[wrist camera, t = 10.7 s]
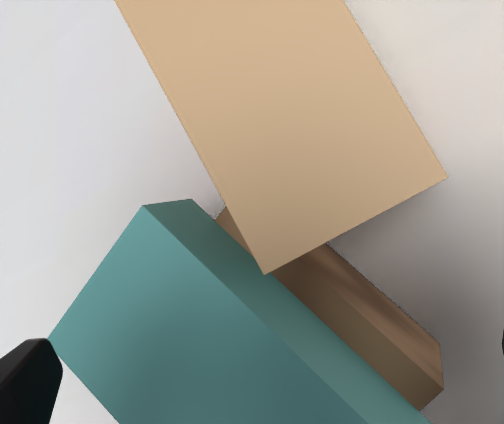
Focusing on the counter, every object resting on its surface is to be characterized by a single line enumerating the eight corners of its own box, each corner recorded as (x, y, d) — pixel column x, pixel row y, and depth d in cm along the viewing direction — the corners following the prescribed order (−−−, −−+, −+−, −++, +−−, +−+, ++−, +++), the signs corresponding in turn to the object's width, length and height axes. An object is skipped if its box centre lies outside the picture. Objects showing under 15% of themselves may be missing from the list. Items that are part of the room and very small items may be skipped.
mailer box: (437, 173, 20) (448, 177, 11) (325, 233, 22) (263, 275, 13) (303, -53, 21) (222, -202, 12) (207, 23, 23) (80, -63, 14)
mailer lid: (449, 439, 16) (455, 507, 13) (324, 545, 18) (303, 628, 15) (191, 198, 19) (142, 205, 16) (105, 313, 21) (45, 341, 17)
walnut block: (439, 343, 20) (444, 389, 16) (306, 468, 23) (281, 536, 19) (268, 192, 22) (232, 198, 18) (163, 323, 25) (111, 354, 21)
